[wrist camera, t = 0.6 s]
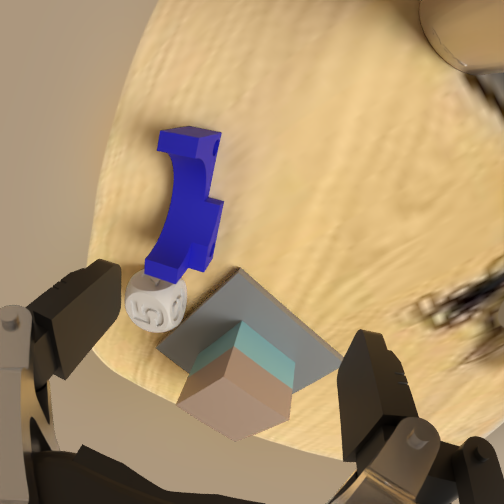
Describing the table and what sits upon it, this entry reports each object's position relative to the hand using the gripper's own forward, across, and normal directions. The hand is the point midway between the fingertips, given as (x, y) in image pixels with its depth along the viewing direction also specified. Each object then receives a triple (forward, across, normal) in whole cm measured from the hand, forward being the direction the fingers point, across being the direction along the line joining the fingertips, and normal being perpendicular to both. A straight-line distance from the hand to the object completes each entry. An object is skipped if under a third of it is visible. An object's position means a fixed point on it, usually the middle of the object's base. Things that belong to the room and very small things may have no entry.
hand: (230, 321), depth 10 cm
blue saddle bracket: (+19, +6, +1) cm, 20 cm away
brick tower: (+20, -1, +18) cm, 27 cm away
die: (+20, +9, +12) cm, 25 cm away
